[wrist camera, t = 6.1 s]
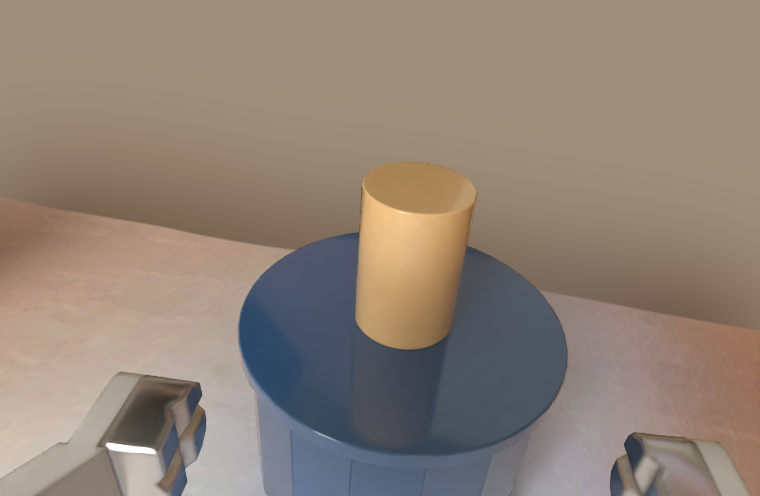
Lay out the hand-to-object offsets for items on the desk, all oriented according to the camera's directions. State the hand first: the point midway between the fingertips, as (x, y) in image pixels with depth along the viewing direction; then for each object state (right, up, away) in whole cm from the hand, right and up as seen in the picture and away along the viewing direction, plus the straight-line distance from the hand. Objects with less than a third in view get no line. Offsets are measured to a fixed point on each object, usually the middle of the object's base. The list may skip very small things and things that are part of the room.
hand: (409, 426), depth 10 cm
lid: (0, 0, +14) cm, 14 cm away
